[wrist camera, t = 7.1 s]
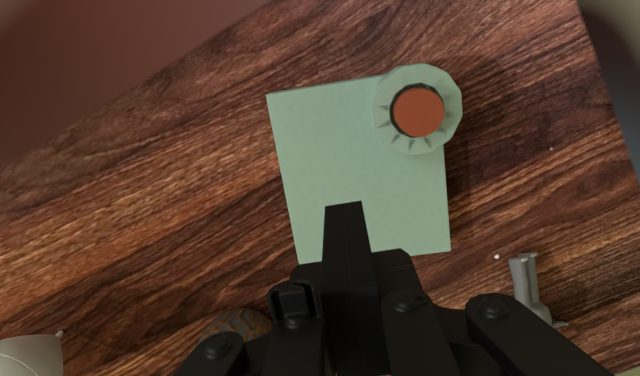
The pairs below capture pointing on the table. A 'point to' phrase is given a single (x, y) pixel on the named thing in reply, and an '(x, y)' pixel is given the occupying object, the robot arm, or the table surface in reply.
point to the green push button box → (365, 159)
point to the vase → (239, 324)
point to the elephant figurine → (529, 286)
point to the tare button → (418, 111)
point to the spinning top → (31, 355)
